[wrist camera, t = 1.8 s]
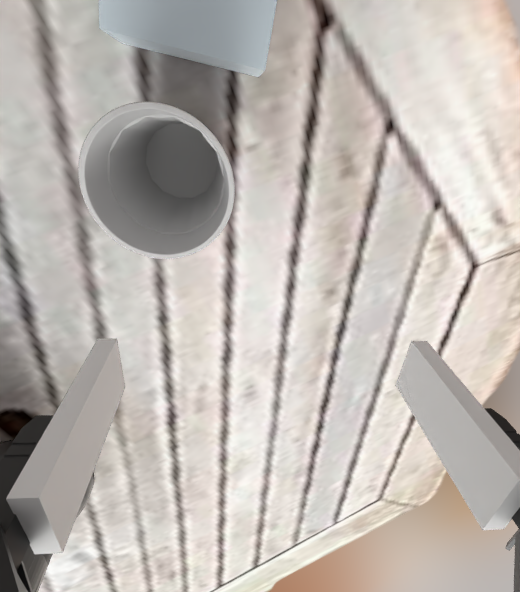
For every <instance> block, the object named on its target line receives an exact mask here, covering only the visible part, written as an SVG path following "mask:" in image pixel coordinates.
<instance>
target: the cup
mask: <svg viewBox="0 0 520 592" xmlns="http://www.w3.org/2000/svg"><path fill="white" fill-rule="evenodd" d="M78 174H79V183H80V188H81V192H82V196H83V199H84V201H85V204H86V206H87V208H88V210H89V212H90V213H91V215H92V217H93V218H94V220H95V221H96V222H97V224H98V225H99V226H100V227H101V229H102V230H103V231H104V232H105V233H106V234H107V235H108V236H109V237H111V238H112V239H113V240H114V241H116V242H117V243H118V244H120V245H122V246H123V247H125V248H127V249H129V250H131V251H133V252H135V253H138V254H140V255H144V256H147V257H152V258H159V259H174V258H181V257H185V256H189V255H191V254H194V253H196V252H198V251H200V250H202V249H204V248H205V247H207V246H208V245H209V244H211V243H212V242H213V241H214V240H215V239H216V238H217V237H218V236H219V235H220V233H221V232H222V231H223V229H224V227H225V226H226V224H227V222H228V220H229V218H230V215H231V212H232V208H233V204H234V195H235V185H234V177H233V172H232V168H231V165H230V162H229V159H228V157H227V155H226V153H225V151H224V149H223V147H222V145H221V144H220V142H219V141H218V139H217V138H216V137H215V135H214V134H213V133H212V132H211V131H210V130H209V129H208V128H207V127H206V126H205V125H204V124H203V123H202V122H201V121H199V120H198V119H197V118H195V117H194V116H192V115H191V114H189V113H187V112H185V111H183V110H181V109H179V108H177V107H174V106H171V105H168V104H163V103H158V102H136V103H130V104H126V105H123V106H120V107H118V108H116V109H114V110H112V111H110V112H109V113H107V114H106V115H105V116H103V117H102V118H101V119H100V120H99V121H98V122H97V123H96V124H95V125H94V126H93V127H92V129H91V130H90V132H89V133H88V135H87V137H86V139H85V141H84V143H83V146H82V149H81V153H80V158H79V167H78Z"/></svg>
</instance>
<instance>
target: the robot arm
mask: <svg viewBox="0 0 520 592" xmlns="http://www.w3.org/2000/svg"><path fill="white" fill-rule="evenodd" d="M396 387H397V388H398V390H399V392H400V393H401V395H402V397H403V398H404V400H405V402H406V403H407V405H408V407H409V408H410V410H411V412H412V413H413V415H414V417H415V418H416V420H417V422H418V423H419V425H420V427H421V428H422V430H423V432H424V433H425V435H426V437H427V438H428V440H429V442H430V443H431V445H432V447H433V448H434V450H435V452H436V453H437V455H438V457H439V458H440V460H441V462H442V463H443V465H444V467H445V468H446V470H447V472H448V473H449V475H450V477H451V478H452V480H453V482H454V483H455V485H456V486H457V488H458V490H459V492H460V493H461V495H462V497H463V498H464V500H465V502H466V503H467V505H468V507H469V508H470V510H471V512H472V513H473V515H474V517H475V518H476V520H477V522H478V523H479V525H480V527H481V529H482V530H497V529H504V528H505V527H506V526H507V525H508V523H509V522H510V521H511V519H513V520H514V522H515V523H516V525H517V526H518V528H519V529H518V531H517V532H516V533H515V534H514V535H513V537H512V538H511V539H510V540H509V542H508V543H507V545H506V549H507V550H510V549H511V548H512V547H513V546H514V545H515V568H514V592H520V435H519V434H517V433H516V430H515V429H514V428H513V427H512V426H511V425H510V423H509V422H508V421H507V420H506V419H505V418H503V417H502V416H501V415H499V414H498V413H497V412H495V411H494V410H493V409H491V408H490V409H484V408H483V407H482V405H481V404H480V403H479V402H478V401H477V399H476V398H475V397H474V396H473V395H472V394H471V392H470V391H469V390H468V389H467V388H466V386H465V385H464V384H463V383H462V382H461V381H460V379H459V378H458V377H457V376H456V375H455V374H454V372H453V371H452V370H451V369H450V368H449V366H448V365H447V364H446V363H445V362H444V361H443V359H442V358H441V357H440V356H439V355H438V354H437V352H436V351H435V350H434V349H433V348H432V346H431V345H430V344H429V343H428V342H427V341H411V343H410V346H409V349H408V352H407V355H406V358H405V360H404V363H403V366H402V369H401V372H400V374H399V377H398V380H397V383H396ZM124 389H125V383H124V377H123V371H122V365H121V359H120V354H119V348H118V342H117V339H98V340H97V341H96V343H95V345H94V346H93V348H92V350H91V352H90V353H89V355H88V357H87V359H86V360H85V362H84V364H83V366H82V367H81V369H80V371H79V373H78V374H77V376H76V378H75V380H74V381H73V383H72V385H71V386H70V388H69V390H68V392H67V393H66V395H65V397H64V399H63V400H62V402H61V404H60V406H59V407H58V409H57V411H56V413H55V414H54V415H53V416H35V417H34V418H33V419H32V420H31V421H30V422H28V423H27V424H26V425H25V426H24V427H23V428H21V430H20V432H19V433H18V435H17V436H16V438H15V439H14V441H8V442H2V443H0V592H38V590H39V588H40V585H41V582H42V580H43V577H44V575H45V572H46V570H47V567H48V564H49V562H50V559H51V557H52V554H53V553H63V551H64V548H65V546H66V543H67V540H68V538H69V535H70V532H71V530H72V527H73V524H74V522H75V520H76V518H77V517H78V515H79V514H80V513H81V511H82V510H83V508H84V507H85V505H86V503H87V501H88V499H89V496H90V493H91V491H92V488H93V484H94V477H93V471H94V469H95V466H96V463H97V461H98V458H99V455H100V453H101V450H102V447H103V445H104V442H105V439H106V437H107V434H108V431H109V429H110V426H111V424H112V421H113V418H114V416H115V413H116V410H117V408H118V405H119V402H120V400H121V397H122V394H123V392H124Z"/></svg>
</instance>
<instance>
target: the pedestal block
mask: <svg viewBox="0 0 520 592" xmlns="http://www.w3.org/2000/svg"><path fill="white" fill-rule="evenodd" d="M276 4H277V0H99V29H101V30H102V31H104V32H105V33H107V34H109V35H110V36H112V37H113V38H115V39H116V40H118V41H119V42H121V43H122V44H126V45H130V46H134V47H138V48H142V49H146V50H150V51H154V52H159V53H163V54H167V55H171V56H175V57H179V58H183V59H187V60H191V61H195V62H199V63H203V64H207V65H211V66H215V67H219V68H223V69H227V70H231V71H235V72H239V73H243V74H247V75H251V76H255V77H259V76H260V75H261V74H262V73H263V72H264V71H265V68H266V62H267V56H268V50H269V45H270V39H271V33H272V27H273V21H274V16H275V10H276Z"/></svg>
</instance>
